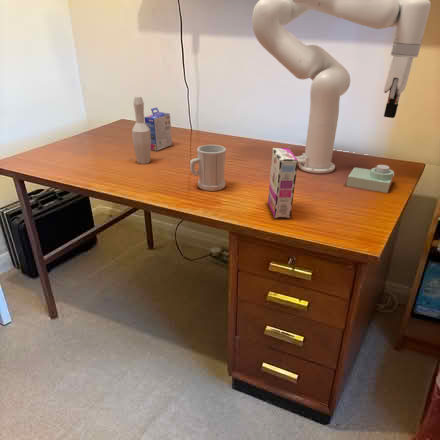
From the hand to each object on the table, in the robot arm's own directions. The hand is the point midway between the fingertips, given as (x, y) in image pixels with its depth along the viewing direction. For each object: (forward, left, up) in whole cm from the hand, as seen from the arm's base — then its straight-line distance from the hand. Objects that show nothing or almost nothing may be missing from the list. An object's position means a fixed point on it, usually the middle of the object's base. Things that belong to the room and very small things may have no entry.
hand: (389, 116), depth 136 cm
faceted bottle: (-80, +20, -20) cm, 84 cm away
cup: (-57, -6, -20) cm, 60 cm away
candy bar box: (-38, -25, -20) cm, 49 cm away
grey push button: (-1, -7, -15) cm, 17 cm away
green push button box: (-4, -5, -20) cm, 21 cm away
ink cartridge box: (-75, +38, -20) cm, 86 cm away
